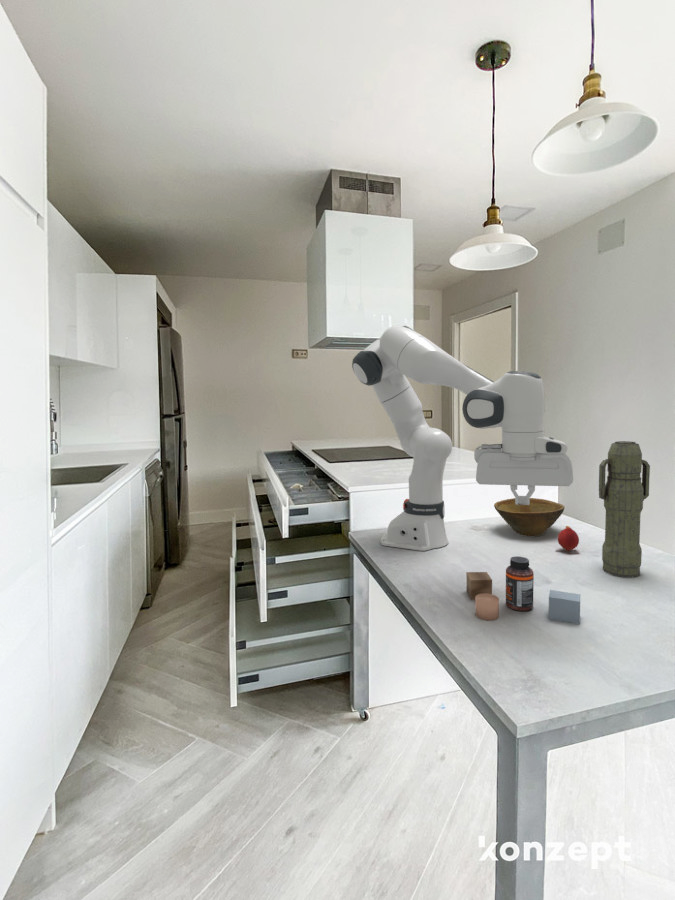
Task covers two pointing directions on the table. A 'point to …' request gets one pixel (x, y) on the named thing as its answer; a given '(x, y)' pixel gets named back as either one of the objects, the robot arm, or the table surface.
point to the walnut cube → (478, 583)
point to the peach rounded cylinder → (487, 606)
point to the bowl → (529, 515)
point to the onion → (568, 539)
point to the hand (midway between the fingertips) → (522, 504)
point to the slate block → (564, 606)
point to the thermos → (623, 507)
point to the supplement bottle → (519, 584)
